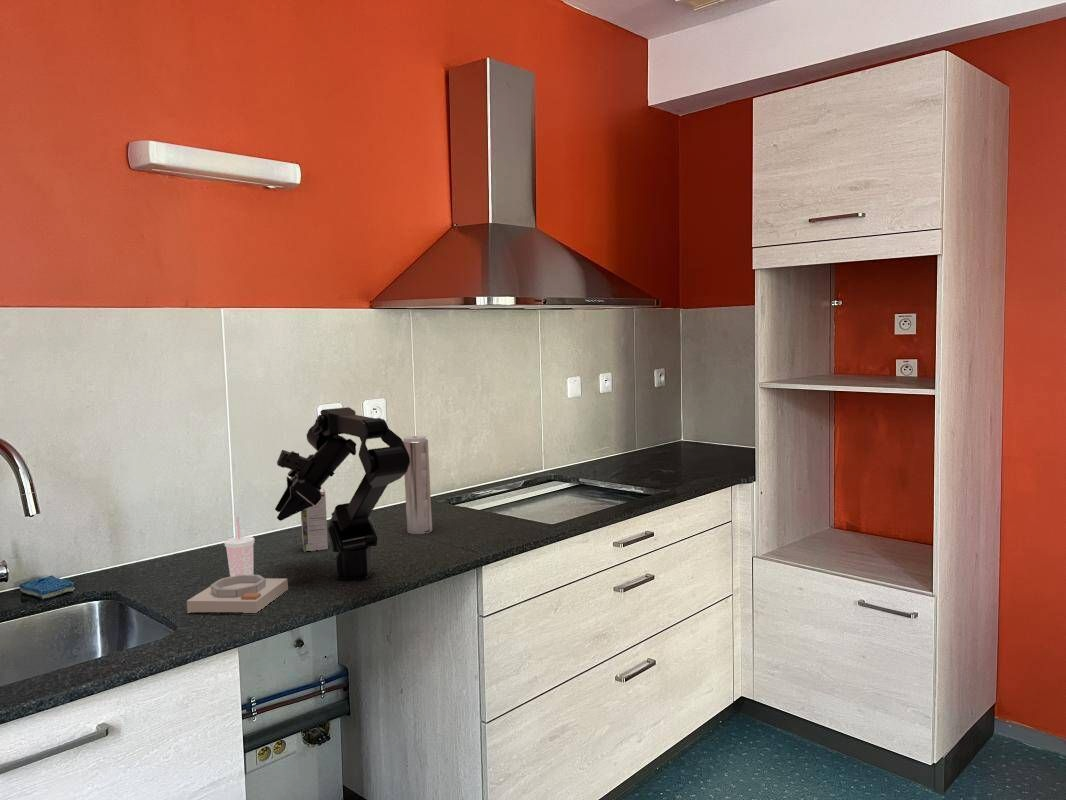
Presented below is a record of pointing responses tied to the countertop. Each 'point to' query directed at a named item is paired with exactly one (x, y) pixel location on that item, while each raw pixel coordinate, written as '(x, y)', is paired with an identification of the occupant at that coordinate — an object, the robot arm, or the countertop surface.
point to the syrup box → (315, 526)
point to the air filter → (418, 486)
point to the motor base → (236, 602)
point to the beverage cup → (240, 554)
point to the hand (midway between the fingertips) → (277, 514)
